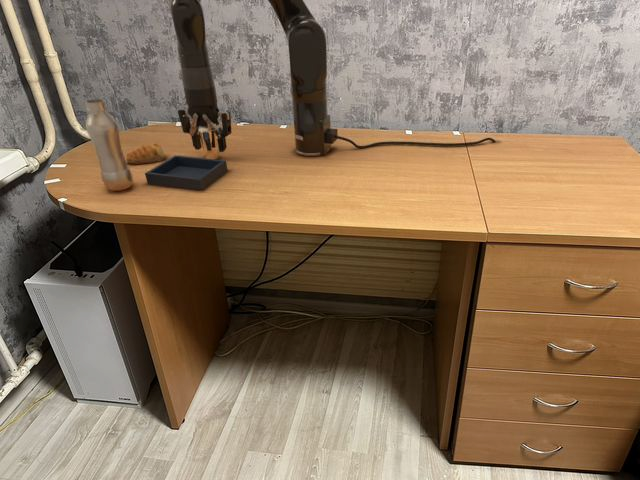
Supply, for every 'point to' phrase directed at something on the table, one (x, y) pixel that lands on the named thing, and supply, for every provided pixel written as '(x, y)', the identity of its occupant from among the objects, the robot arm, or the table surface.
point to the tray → (187, 172)
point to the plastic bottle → (107, 146)
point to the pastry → (146, 154)
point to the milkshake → (208, 142)
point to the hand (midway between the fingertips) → (210, 149)
